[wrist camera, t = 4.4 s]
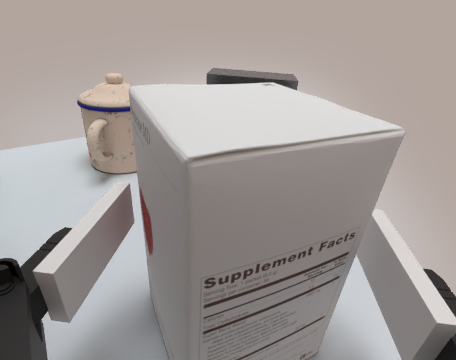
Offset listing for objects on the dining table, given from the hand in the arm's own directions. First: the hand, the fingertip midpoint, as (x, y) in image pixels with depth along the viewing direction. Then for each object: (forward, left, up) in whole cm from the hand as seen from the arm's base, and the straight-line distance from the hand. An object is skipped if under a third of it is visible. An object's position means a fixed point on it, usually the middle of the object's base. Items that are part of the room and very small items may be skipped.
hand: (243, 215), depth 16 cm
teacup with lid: (-21, +17, -9) cm, 28 cm away
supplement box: (0, -1, -9) cm, 9 cm away
